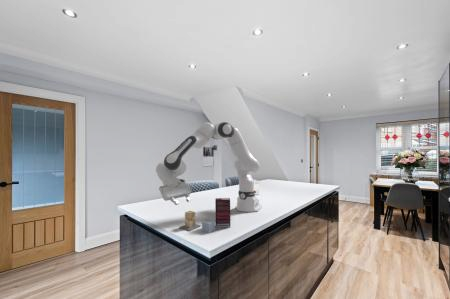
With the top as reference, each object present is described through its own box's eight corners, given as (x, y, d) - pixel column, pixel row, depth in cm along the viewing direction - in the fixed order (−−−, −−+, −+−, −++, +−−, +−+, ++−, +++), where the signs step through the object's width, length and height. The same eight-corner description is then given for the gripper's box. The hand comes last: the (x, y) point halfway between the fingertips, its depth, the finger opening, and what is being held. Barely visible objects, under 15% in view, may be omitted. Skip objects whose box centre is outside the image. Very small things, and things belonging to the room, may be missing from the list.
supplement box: (230, 224, 121) (230, 197, 121) (230, 227, 116) (230, 199, 116) (215, 224, 120) (215, 197, 121) (215, 227, 116) (215, 199, 116)
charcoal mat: (190, 223, 122) (190, 222, 122) (200, 226, 118) (200, 225, 118) (179, 228, 115) (179, 227, 115) (189, 231, 110) (189, 230, 110)
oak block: (189, 224, 119) (190, 210, 119) (195, 225, 117) (195, 211, 117) (185, 226, 116) (185, 212, 116) (190, 227, 114) (190, 213, 114)
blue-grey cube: (207, 228, 115) (208, 219, 115) (215, 230, 112) (215, 221, 112) (202, 231, 111) (202, 221, 111) (209, 233, 108) (209, 223, 108)
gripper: (160, 183, 116) (172, 202, 110) (186, 179, 133) (197, 196, 127) (155, 190, 118) (166, 209, 112) (181, 185, 135) (192, 202, 129)
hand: (183, 202), depth 120 cm, fingers open, 8 cm apart
